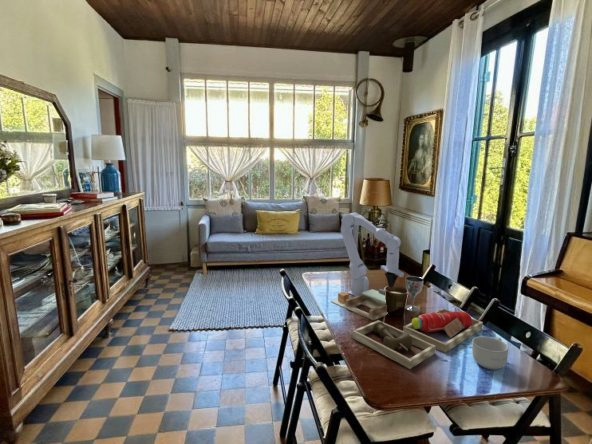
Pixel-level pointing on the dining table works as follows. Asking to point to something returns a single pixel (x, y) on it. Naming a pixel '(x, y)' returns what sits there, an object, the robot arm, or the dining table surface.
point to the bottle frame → (451, 343)
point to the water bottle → (443, 322)
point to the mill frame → (403, 360)
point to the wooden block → (343, 297)
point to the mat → (338, 302)
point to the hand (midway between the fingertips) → (391, 286)
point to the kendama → (389, 340)
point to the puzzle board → (376, 306)
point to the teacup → (490, 352)
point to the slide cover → (376, 295)
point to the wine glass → (413, 290)
